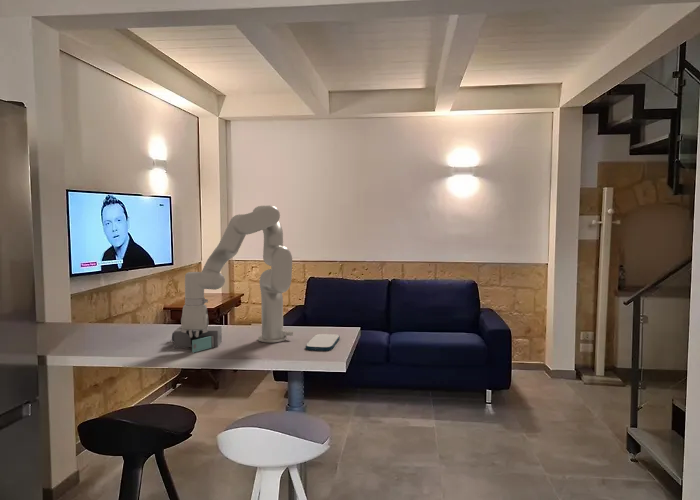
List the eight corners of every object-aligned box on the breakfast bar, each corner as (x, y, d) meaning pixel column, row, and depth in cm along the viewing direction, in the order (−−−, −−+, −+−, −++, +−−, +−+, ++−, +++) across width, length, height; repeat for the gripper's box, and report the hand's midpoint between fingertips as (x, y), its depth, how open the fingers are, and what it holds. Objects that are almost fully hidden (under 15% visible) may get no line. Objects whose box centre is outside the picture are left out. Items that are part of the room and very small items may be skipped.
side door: (212, 347, 211) (212, 335, 211) (214, 347, 210) (214, 336, 210) (192, 352, 203) (191, 340, 202) (194, 353, 202) (194, 340, 202)
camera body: (221, 341, 221) (221, 323, 220) (217, 347, 211) (217, 328, 211) (176, 342, 219) (175, 324, 219) (170, 348, 210) (169, 329, 209)
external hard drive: (316, 337, 231) (316, 333, 230) (341, 338, 229) (341, 334, 229) (303, 351, 207) (303, 346, 207) (331, 352, 205) (331, 347, 205)
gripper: (215, 300, 210) (215, 344, 211) (178, 300, 209) (178, 344, 210) (211, 303, 202) (211, 348, 203) (173, 303, 201) (173, 348, 202)
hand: (194, 346), depth 206 cm, fingers closed
